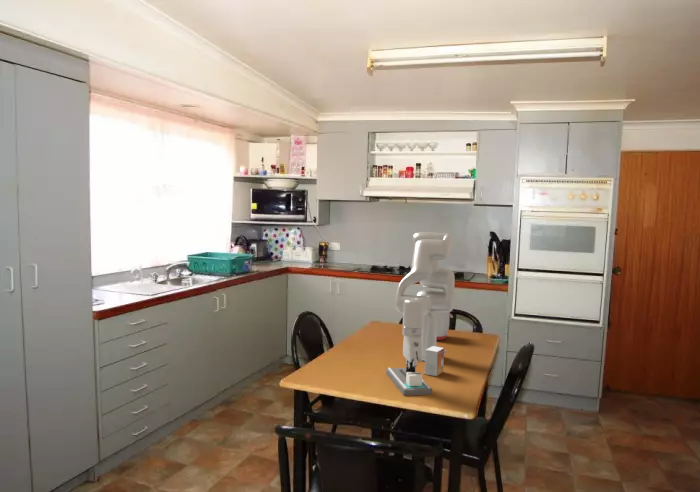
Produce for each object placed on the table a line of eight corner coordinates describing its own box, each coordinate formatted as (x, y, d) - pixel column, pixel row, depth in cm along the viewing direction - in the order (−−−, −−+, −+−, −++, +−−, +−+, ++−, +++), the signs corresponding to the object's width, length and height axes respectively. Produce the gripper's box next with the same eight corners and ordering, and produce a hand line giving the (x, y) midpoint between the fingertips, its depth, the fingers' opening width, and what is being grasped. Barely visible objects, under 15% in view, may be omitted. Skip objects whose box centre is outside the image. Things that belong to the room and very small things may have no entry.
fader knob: (418, 382, 188) (418, 371, 188) (421, 385, 184) (422, 375, 184) (405, 382, 187) (406, 372, 187) (409, 386, 183) (409, 375, 183)
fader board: (411, 372, 206) (411, 366, 206) (431, 394, 182) (432, 387, 182) (386, 373, 204) (386, 367, 204) (403, 395, 180) (403, 388, 180)
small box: (436, 376, 202) (437, 351, 201) (423, 374, 205) (425, 349, 204) (443, 371, 209) (444, 347, 208) (431, 369, 212) (432, 345, 211)
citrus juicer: (454, 342, 258) (456, 305, 256) (422, 341, 258) (423, 303, 257) (449, 335, 273) (450, 299, 272) (418, 334, 274) (419, 298, 272)
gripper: (428, 335, 182) (426, 384, 183) (415, 326, 196) (413, 371, 198) (408, 336, 180) (406, 384, 182) (397, 326, 195) (395, 371, 196)
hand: (410, 377), depth 190 cm, fingers closed
